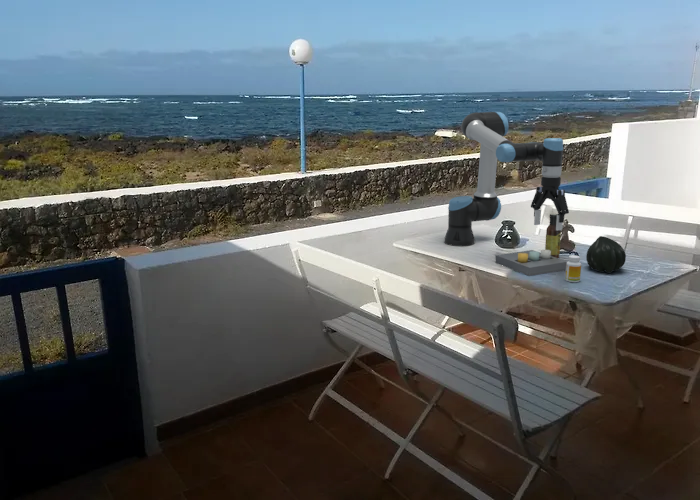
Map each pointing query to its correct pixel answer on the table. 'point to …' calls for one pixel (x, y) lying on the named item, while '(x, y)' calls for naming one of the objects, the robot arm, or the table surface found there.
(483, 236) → the table surface
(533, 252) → the teal button
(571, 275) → the supplement bottle
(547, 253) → the ivory button
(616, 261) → the squash
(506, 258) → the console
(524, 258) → the amber button
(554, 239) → the sauce bottle
